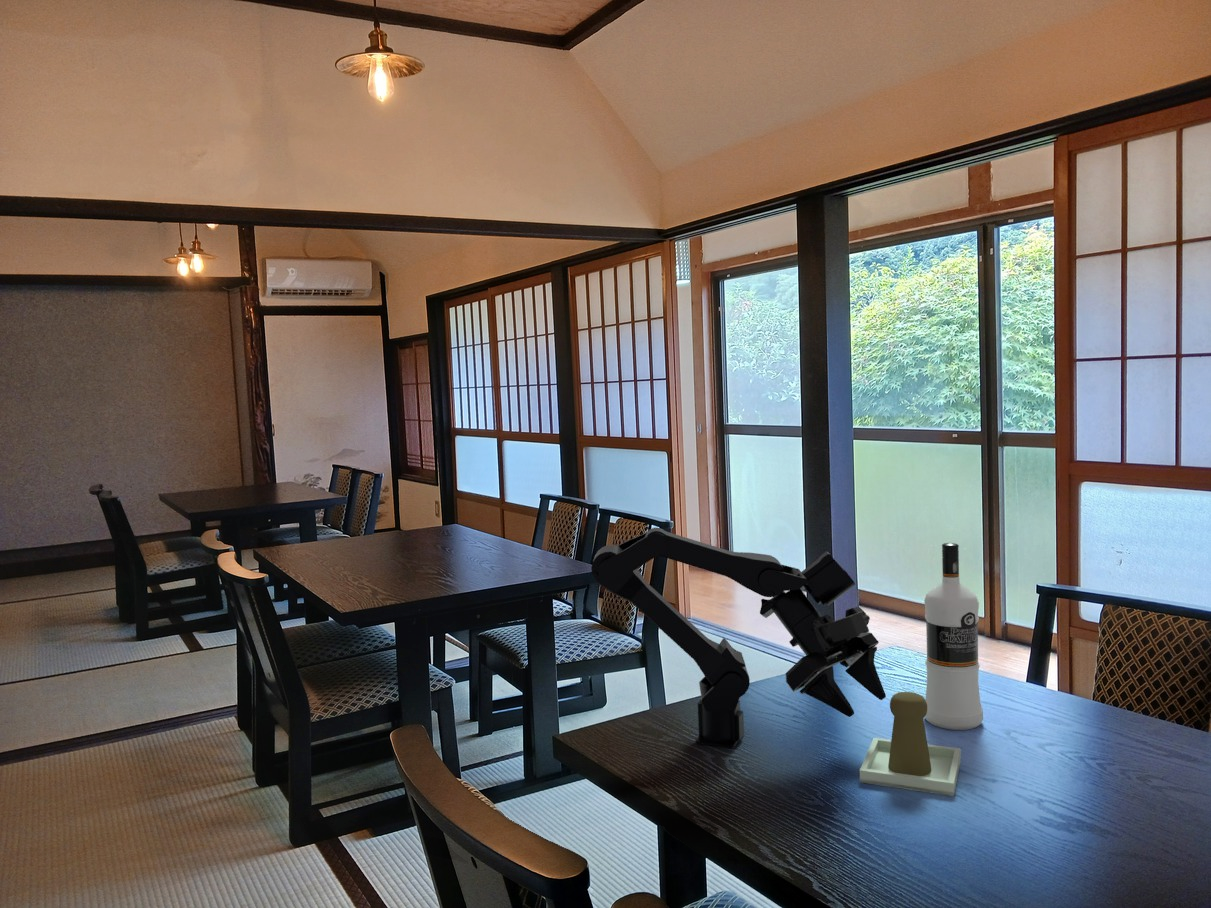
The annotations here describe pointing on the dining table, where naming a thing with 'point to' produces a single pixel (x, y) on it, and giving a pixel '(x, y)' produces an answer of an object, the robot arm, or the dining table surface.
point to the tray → (936, 781)
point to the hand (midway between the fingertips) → (868, 706)
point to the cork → (909, 735)
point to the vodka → (952, 650)
